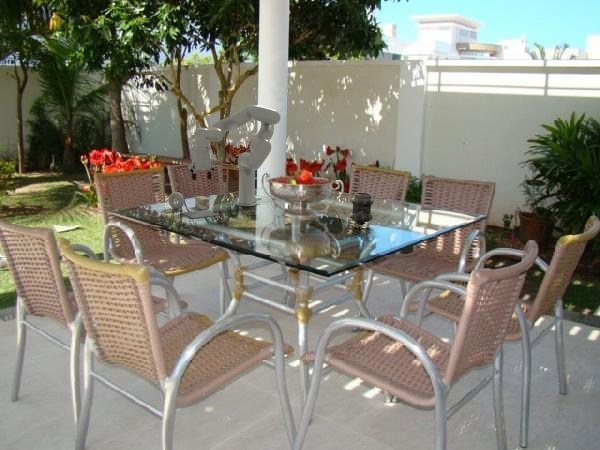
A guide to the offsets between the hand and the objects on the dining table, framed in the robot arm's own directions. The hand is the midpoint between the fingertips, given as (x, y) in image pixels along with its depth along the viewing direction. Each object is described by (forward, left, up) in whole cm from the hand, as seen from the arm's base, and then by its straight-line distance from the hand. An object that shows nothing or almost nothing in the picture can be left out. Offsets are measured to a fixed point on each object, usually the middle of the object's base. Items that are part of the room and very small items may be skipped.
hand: (201, 179), depth 322 cm
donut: (+15, -3, -17) cm, 22 cm away
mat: (+10, +16, -17) cm, 25 cm away
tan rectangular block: (0, 0, -17) cm, 17 cm away
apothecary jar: (-51, +80, -17) cm, 97 cm away
